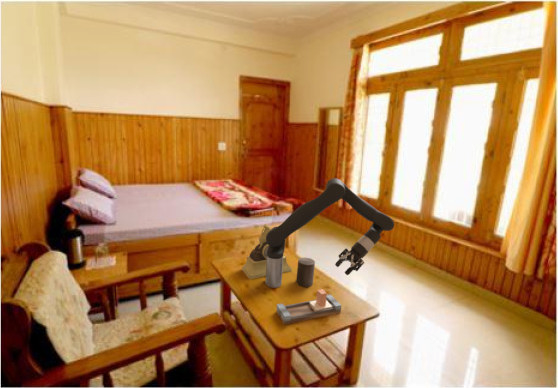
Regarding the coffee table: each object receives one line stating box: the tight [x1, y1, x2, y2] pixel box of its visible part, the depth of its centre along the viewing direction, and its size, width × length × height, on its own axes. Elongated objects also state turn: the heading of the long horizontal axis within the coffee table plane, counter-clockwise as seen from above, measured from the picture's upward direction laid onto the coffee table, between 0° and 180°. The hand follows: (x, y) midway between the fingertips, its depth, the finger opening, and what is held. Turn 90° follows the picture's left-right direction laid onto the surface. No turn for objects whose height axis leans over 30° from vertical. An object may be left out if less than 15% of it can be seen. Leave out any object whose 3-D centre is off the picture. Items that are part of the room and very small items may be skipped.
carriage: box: [309, 288, 332, 311], centre depth 144 cm, size 7×9×8 cm
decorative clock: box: [241, 223, 293, 280], centre depth 180 cm, size 28×13×30 cm, turn 117°
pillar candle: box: [295, 256, 316, 288], centre depth 169 cm, size 10×10×15 cm
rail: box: [276, 293, 342, 325], centre depth 143 cm, size 10×30×4 cm, turn 112°
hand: (340, 269), depth 147 cm, fingers open, 8 cm apart
